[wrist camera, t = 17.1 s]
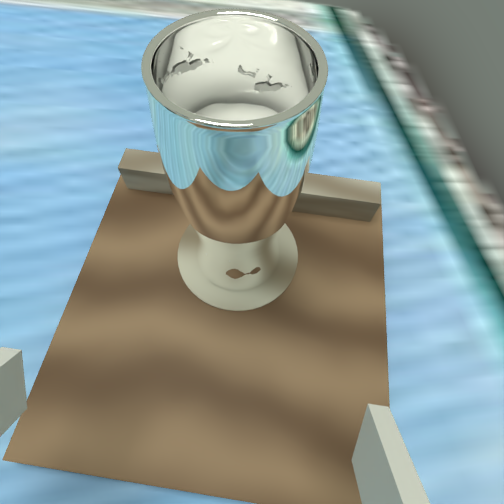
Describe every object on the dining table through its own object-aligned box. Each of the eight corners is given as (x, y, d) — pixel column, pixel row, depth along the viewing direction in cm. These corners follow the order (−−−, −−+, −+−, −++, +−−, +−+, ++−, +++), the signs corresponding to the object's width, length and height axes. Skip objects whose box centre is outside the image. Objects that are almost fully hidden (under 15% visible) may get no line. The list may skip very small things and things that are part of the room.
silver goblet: (197, 211, 27) (154, -1, 13) (285, 217, 27) (329, 10, 13) (185, 294, 24) (112, 124, 10) (284, 300, 24) (341, 138, 10)
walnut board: (383, 519, 19) (416, 541, 16) (18, 457, 20) (-30, 464, 17) (374, 208, 29) (393, 179, 26) (130, 175, 30) (115, 142, 27)
